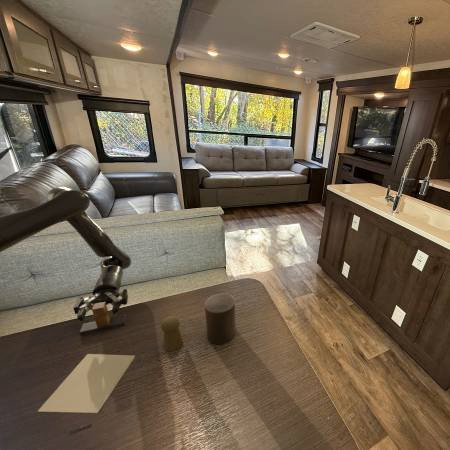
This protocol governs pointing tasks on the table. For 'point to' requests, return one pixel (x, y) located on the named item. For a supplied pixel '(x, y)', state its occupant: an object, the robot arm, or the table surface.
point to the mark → (80, 428)
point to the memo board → (88, 384)
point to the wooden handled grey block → (102, 320)
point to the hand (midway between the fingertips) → (97, 315)
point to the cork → (171, 334)
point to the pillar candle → (220, 318)
